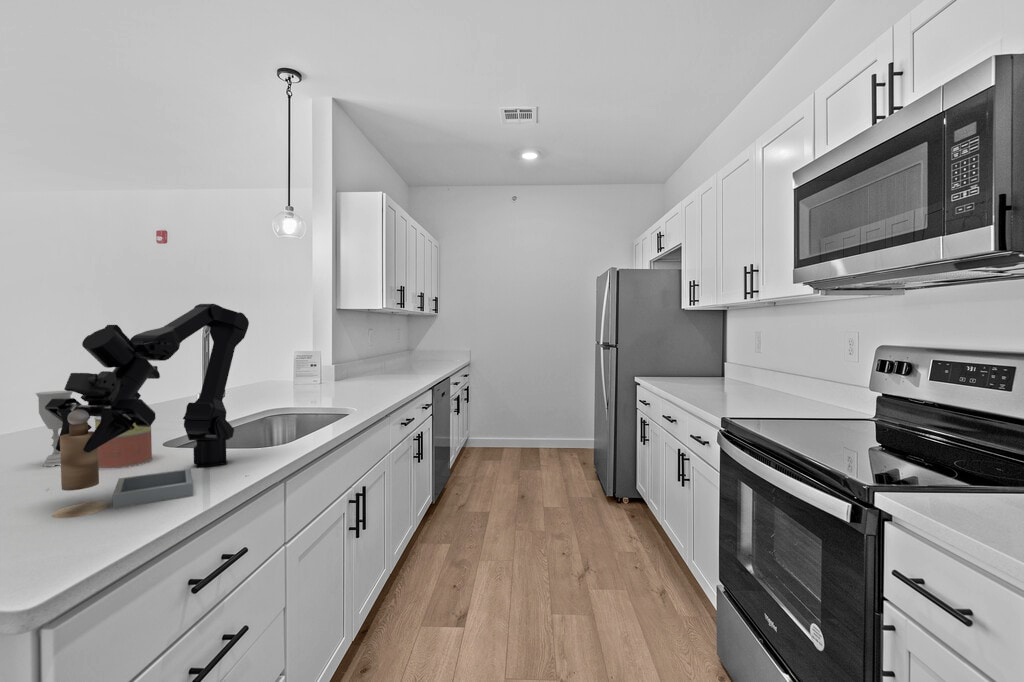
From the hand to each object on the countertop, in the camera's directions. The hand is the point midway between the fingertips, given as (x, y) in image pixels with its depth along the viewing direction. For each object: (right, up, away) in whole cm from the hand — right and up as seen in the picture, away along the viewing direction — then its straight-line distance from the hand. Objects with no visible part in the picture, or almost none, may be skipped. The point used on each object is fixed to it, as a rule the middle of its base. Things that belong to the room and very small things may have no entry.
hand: (71, 450), depth 90 cm
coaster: (0, -12, +2) cm, 12 cm away
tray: (+7, -11, +11) cm, 17 cm away
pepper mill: (0, -7, +2) cm, 7 cm away
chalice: (-35, -11, +35) cm, 50 cm away
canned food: (-19, -11, +36) cm, 42 cm away
